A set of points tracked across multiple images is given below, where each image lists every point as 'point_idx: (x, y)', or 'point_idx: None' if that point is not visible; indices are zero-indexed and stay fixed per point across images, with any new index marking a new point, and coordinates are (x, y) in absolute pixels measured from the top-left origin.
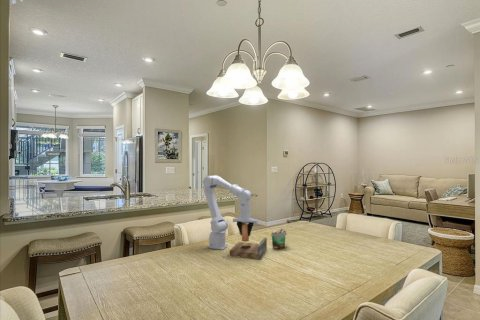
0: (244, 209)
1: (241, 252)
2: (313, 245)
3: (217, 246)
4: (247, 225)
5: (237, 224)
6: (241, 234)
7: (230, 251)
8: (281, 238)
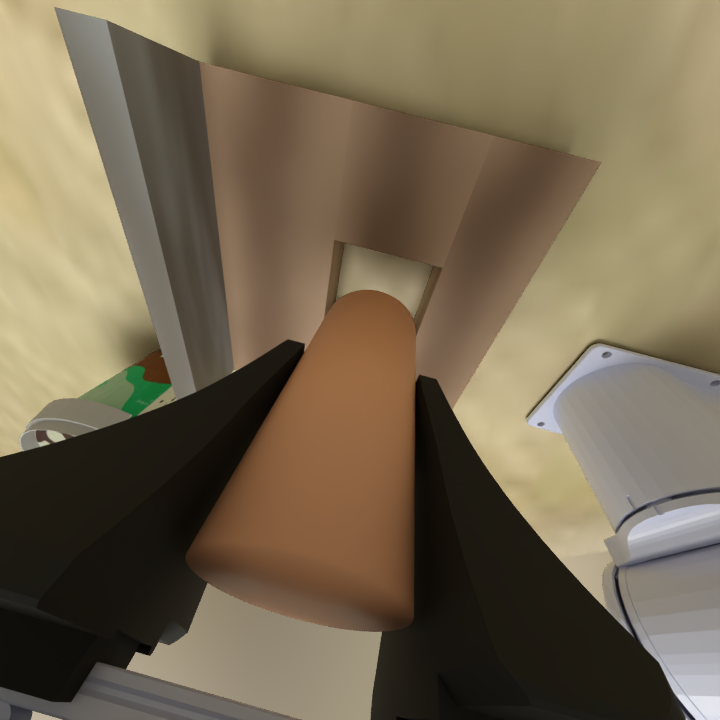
0: None
1: (423, 119)
2: (41, 397)
3: (661, 374)
4: (196, 545)
5: (649, 692)
6: (421, 381)
7: (580, 159)
8: (80, 396)
